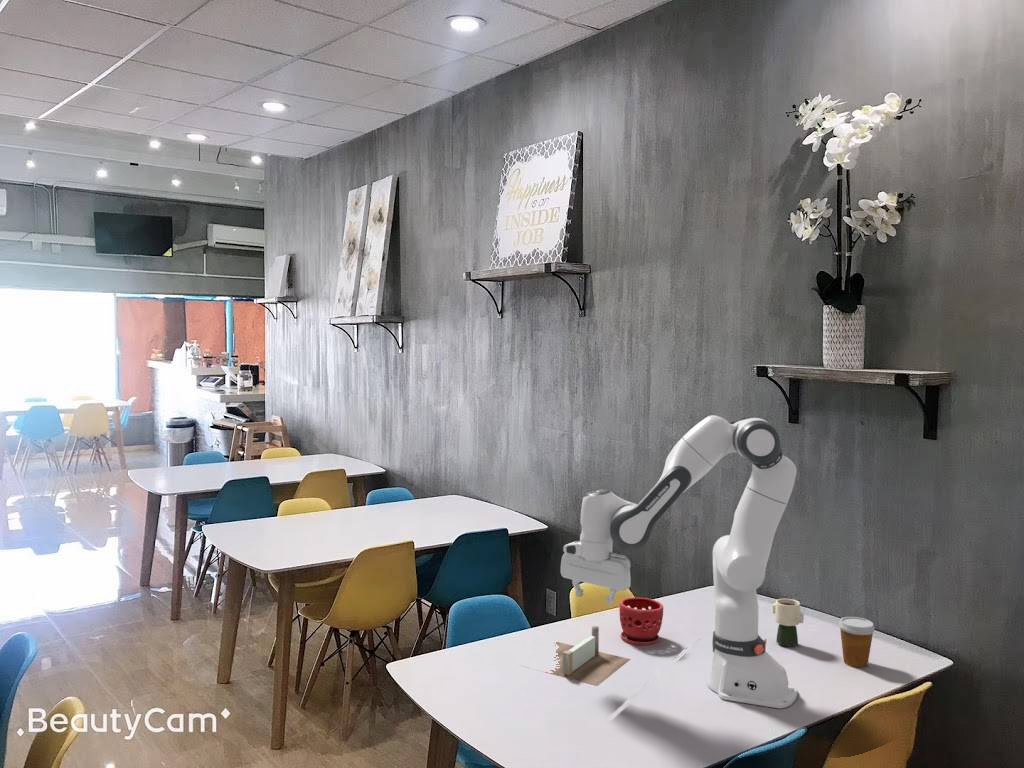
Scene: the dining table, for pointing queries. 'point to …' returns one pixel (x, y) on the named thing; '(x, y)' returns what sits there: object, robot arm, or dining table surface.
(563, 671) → the gate
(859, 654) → the disposable coffee cup
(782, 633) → the character mug
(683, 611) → the dining table surface
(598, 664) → the gate base board
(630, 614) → the plant pot
